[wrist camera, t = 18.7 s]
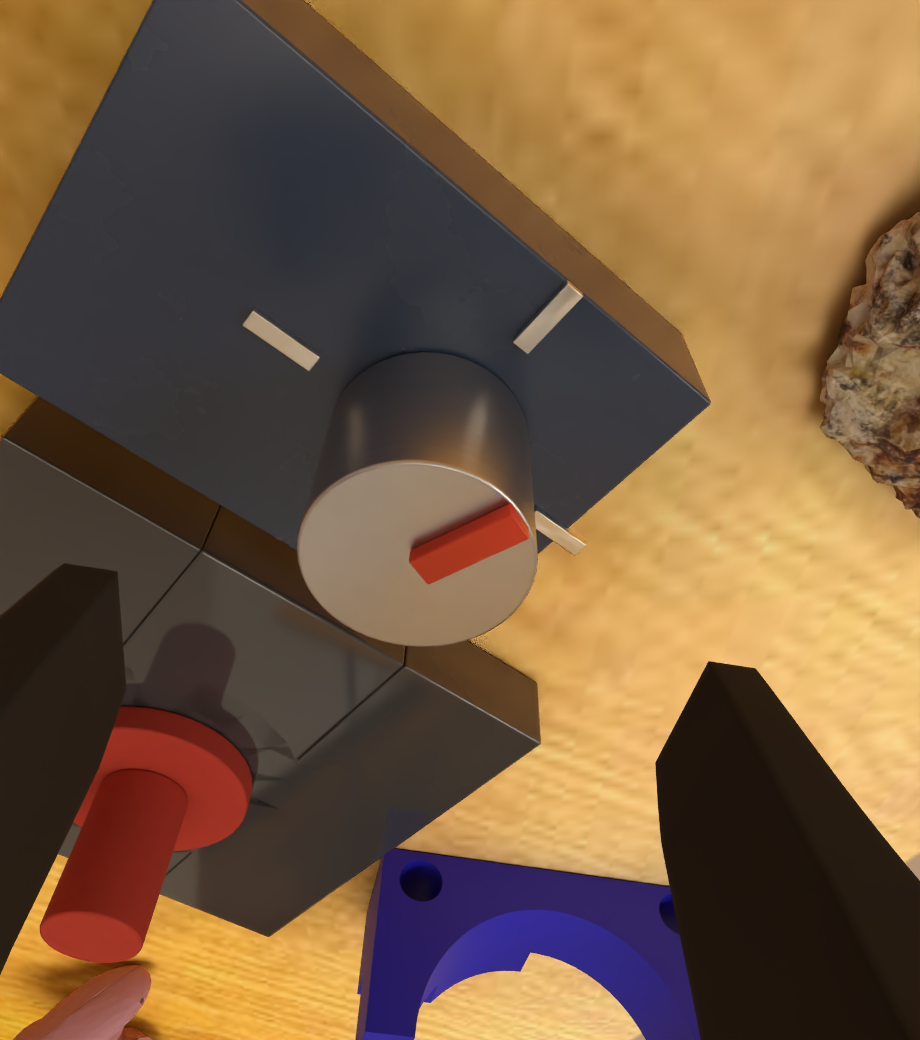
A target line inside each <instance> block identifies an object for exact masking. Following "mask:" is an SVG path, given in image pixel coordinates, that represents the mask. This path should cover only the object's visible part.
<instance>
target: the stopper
mask: <svg viewBox="0 0 920 1040" xmlns="http://www.w3.org/2000/svg"><path fill="white" fill-rule="evenodd" d="M252 786H253V785H252V776H251V772H250V769H249V766H248V764H247V762H246V760H245V759H244V757H243V756H242V755H241V753H240V752H239V751H238V750H237V749H236V747H235V746H234V745H233V744H232V743H230V742H229V741H228V740H227V739H226V738H225V737H223V736H222V735H220V734H219V733H217V732H216V731H214V730H213V729H211V728H209V727H207V726H206V725H204V724H202V723H200V722H198V721H195V720H193V719H191V718H188V717H185V716H182V715H179V714H176V713H173V712H169V711H165V710H160V709H154V708H148V707H137V706H120V709H119V712H118V715H117V718H116V721H115V724H114V727H113V730H112V733H111V736H110V739H109V741H108V744H107V747H106V750H105V753H104V756H103V758H102V761H101V764H100V767H99V769H98V771H97V773H96V775H95V778H94V780H93V782H92V784H91V786H90V788H89V790H88V792H87V794H86V797H85V799H84V801H83V803H82V805H81V807H80V809H79V811H78V813H77V815H76V817H75V819H74V823H75V824H77V825H78V826H80V827H81V830H80V833H79V835H78V837H77V840H76V842H75V845H74V847H73V849H72V852H71V854H70V856H69V859H68V861H67V863H66V866H65V868H64V870H63V873H62V875H61V877H60V880H59V882H58V884H57V887H56V889H55V891H54V894H53V896H52V898H51V901H50V903H49V905H48V908H47V910H46V912H45V915H44V917H43V919H42V922H41V924H40V934H41V937H42V938H43V940H44V941H45V942H46V943H47V944H48V945H49V946H51V947H52V948H53V949H55V950H57V951H59V952H60V953H63V954H65V955H67V956H70V957H73V958H76V959H80V960H84V961H90V962H99V963H113V962H120V961H125V960H128V959H130V958H132V957H134V956H135V955H137V954H138V953H139V951H140V950H141V949H142V946H143V943H144V940H145V937H146V934H147V931H148V928H149V925H150V921H151V918H152V915H153V912H154V909H155V906H156V903H157V900H158V897H159V894H160V890H161V887H162V884H163V881H164V878H165V875H166V872H167V869H168V866H169V863H170V859H171V856H172V853H173V851H181V850H191V849H197V848H201V847H205V846H209V845H211V844H214V843H217V842H219V841H221V840H222V839H224V838H226V837H227V836H229V835H230V834H232V833H233V832H234V831H235V830H236V829H237V828H238V827H239V826H240V824H241V823H242V821H243V820H244V817H245V815H246V812H247V809H248V805H249V801H250V797H251V793H252Z"/></svg>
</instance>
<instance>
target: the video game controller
mask: <svg viewBox="0 0 920 1040" xmlns="http://www.w3.org/2000/svg"><path fill="white" fill-rule="evenodd" d="M150 986H151V978H150V974H149V973H148V971H147V970H146V969H145V968H144V967H143V966H141V965H129V966H123V967H119V968H115V969H112V970H109V971H107V972H105V973H103V974H101V975H99V976H97V977H95V978H92V979H91V980H89V981H88V982H86V983H85V984H83V985H82V986H80V987H79V988H77V989H76V990H74V991H73V992H72V993H71V994H69V995H68V996H67V997H66V998H65V999H63V1000H62V1001H61V1002H60V1003H59V1004H57V1005H56V1006H55V1007H54V1008H53V1009H52V1010H51V1011H50V1012H49V1013H47V1014H46V1015H45V1016H44V1017H43V1018H42V1019H39V1020H37V1021H35V1022H33V1023H32V1024H30V1025H29V1026H27V1027H26V1028H24V1029H23V1030H22V1031H21V1032H20V1033H19V1034H18V1035H17V1036H16V1037H15V1038H14V1039H13V1040H153V1039H152V1038H150V1037H148V1036H147V1035H146V1034H144V1033H142V1032H141V1031H139V1030H138V1029H136V1028H134V1027H128V1028H125V1029H123V1028H124V1026H125V1025H126V1024H127V1023H128V1022H129V1021H130V1020H131V1019H132V1018H133V1017H134V1015H135V1014H136V1013H137V1011H138V1010H139V1009H140V1008H141V1006H142V1005H143V1003H144V1001H145V999H146V997H147V995H148V993H149V990H150Z"/></svg>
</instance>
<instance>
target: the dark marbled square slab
mask: <svg viewBox="0 0 920 1040" xmlns="http://www.w3.org/2000/svg"><path fill="white" fill-rule="evenodd" d="M64 563H66V564H73V565H80V566H86V567H93V568H99V569H106V570H112V571H118V584H119V597H120V611H121V624H122V637H123V650H124V664H125V677H126V691H125V694H124V697H123V700H122V703H121V706H137V707H148V708H154V709H160V710H165V711H169V712H173V713H176V714H179V715H182V716H185V717H188V718H191V719H193V720H195V721H198V722H200V723H202V724H204V725H206V726H207V727H209V728H211V729H213V730H214V731H216V732H217V733H219V734H220V735H222V736H223V737H225V738H226V739H227V740H228V741H229V742H230V743H232V744H233V745H234V746H235V747H236V749H237V750H238V751H239V752H240V753H241V755H242V756H243V757H244V759H245V760H246V762H247V764H248V766H249V769H250V772H251V776H252V785H253V786H252V793H251V797H250V801H249V805H248V809H247V812H246V815H245V817H244V820H243V821H242V823H241V824H240V826H239V827H238V828H237V829H236V830H235V831H234V832H233V833H232V834H230V835H229V836H227V837H226V838H224V839H222V840H221V841H219V842H217V843H214V844H211V845H209V846H205V847H201V848H197V849H191V850H181V851H173V853H172V856H171V859H170V863H169V866H168V869H167V872H166V875H165V878H164V881H163V884H162V887H161V890H160V894H161V895H163V896H166V897H168V898H171V899H173V900H176V901H178V902H181V903H184V904H186V905H189V906H191V907H194V908H196V909H199V910H201V911H204V912H206V913H209V914H211V915H214V916H216V917H219V918H221V919H224V920H227V921H229V922H232V923H234V924H237V925H239V926H242V927H244V928H247V929H249V930H252V931H254V932H257V933H259V934H262V935H264V936H267V937H270V936H271V935H273V934H274V933H275V932H277V931H278V930H280V929H281V928H283V927H284V926H285V925H287V924H288V923H290V922H291V921H292V920H294V919H295V918H297V917H298V916H299V915H301V914H302V913H304V912H305V911H306V910H308V909H309V908H311V907H312V906H313V905H315V904H316V903H318V902H319V901H321V900H322V899H323V898H325V897H326V896H328V895H329V894H330V893H332V892H333V891H335V890H336V889H337V888H339V887H340V886H342V885H343V884H344V883H346V882H347V881H349V880H350V879H351V878H353V877H354V876H356V875H357V874H359V873H360V872H361V871H363V870H364V869H366V868H367V867H368V866H370V865H371V864H373V863H374V862H375V861H377V860H378V859H380V858H381V857H382V856H384V855H385V854H387V853H388V852H390V851H391V850H392V849H394V848H395V847H397V846H398V845H399V844H401V843H402V842H404V841H405V840H406V839H408V838H409V837H411V836H412V835H413V834H415V833H416V832H418V831H419V830H420V829H422V828H423V827H425V826H426V825H428V824H429V823H430V822H432V821H433V820H435V819H436V818H437V817H439V816H440V815H442V814H443V813H444V812H446V811H447V810H449V809H450V808H451V807H453V806H454V805H456V804H457V803H458V802H460V801H461V800H463V799H464V798H466V797H467V796H468V795H470V794H471V793H473V792H474V791H475V790H477V789H478V788H480V787H481V786H482V785H484V784H485V783H487V782H488V781H489V780H491V779H492V778H494V777H495V776H496V775H498V774H499V773H501V772H502V771H504V770H505V769H506V768H508V767H509V766H511V765H512V764H513V763H515V762H516V761H518V760H519V759H520V758H522V757H523V756H525V755H526V754H527V753H529V752H530V751H532V750H533V749H534V748H536V747H537V746H539V745H540V744H541V736H540V720H539V703H538V687H537V683H536V682H534V681H532V680H531V679H529V678H528V677H526V676H524V675H523V674H521V673H519V672H518V671H516V670H514V669H513V668H511V667H509V666H508V665H506V664H504V663H503V662H501V661H499V660H498V659H496V658H494V657H493V656H491V655H489V654H488V653H486V652H484V651H483V650H481V649H480V648H478V647H476V646H475V645H473V644H471V643H470V642H468V641H462V642H458V643H454V644H449V645H442V646H430V647H416V646H404V645H397V644H392V643H388V642H383V641H380V640H377V639H374V638H371V637H368V636H365V635H363V634H361V633H359V632H356V631H354V630H353V629H351V628H349V627H347V626H346V625H344V624H342V623H341V622H340V621H338V620H337V619H336V618H334V617H333V616H332V615H330V614H329V613H328V612H327V611H326V610H325V609H324V608H323V607H322V606H321V605H320V604H319V602H318V601H317V600H316V599H315V598H314V596H313V595H312V593H311V592H310V590H309V589H308V587H307V585H306V583H305V581H304V578H303V576H302V574H301V570H300V567H299V563H298V556H297V550H295V549H293V548H291V547H290V546H288V545H286V544H285V543H283V542H281V541H280V540H278V539H276V538H275V537H273V536H271V535H270V534H268V533H266V532H265V531H263V530H261V529H260V528H258V527H256V526H255V525H253V524H251V523H250V522H248V521H246V520H245V519H243V518H241V517H240V516H238V515H236V514H235V513H233V512H231V511H230V510H228V509H226V508H225V507H223V506H221V505H220V504H218V503H216V502H215V501H213V500H211V499H210V498H208V497H206V496H204V495H203V494H201V493H199V492H198V491H196V490H194V489H193V488H191V487H189V486H188V485H186V484H184V483H183V482H181V481H179V480H178V479H176V478H174V477H173V476H171V475H169V474H168V473H166V472H164V471H163V470H161V469H159V468H158V467H156V466H154V465H153V464H151V463H149V462H148V461H146V460H144V459H143V458H141V457H139V456H138V455H136V454H134V453H133V452H131V451H129V450H128V449H126V448H124V447H123V446H121V445H119V444H118V443H116V442H114V441H112V440H111V439H109V438H107V437H106V436H104V435H102V434H101V433H99V432H97V431H96V430H94V429H92V428H91V427H89V426H87V425H86V424H84V423H82V422H81V421H79V420H77V419H76V418H74V417H72V416H71V415H69V414H67V413H66V412H64V411H62V410H61V409H59V408H57V407H56V406H54V405H52V404H51V403H49V402H47V401H46V400H44V399H42V398H41V397H39V396H37V397H36V398H35V399H34V400H33V401H32V403H31V404H30V405H29V406H28V407H27V408H26V409H25V411H24V412H23V413H22V414H21V415H20V416H19V418H18V419H17V420H16V421H15V422H14V423H13V424H12V426H11V427H10V428H9V429H8V430H7V431H6V432H5V434H4V435H3V436H2V437H1V439H0V615H1V614H3V613H4V612H5V611H6V610H7V609H9V608H10V607H11V606H12V605H13V604H14V603H16V602H17V601H18V600H19V599H20V598H22V597H23V596H24V595H25V594H26V593H27V592H29V591H30V590H31V589H32V588H33V587H34V586H36V585H37V584H38V583H39V582H40V581H42V580H43V579H44V578H45V577H46V576H47V575H49V574H50V573H51V572H52V571H53V570H55V569H56V568H58V567H59V566H61V565H62V564H64ZM80 830H81V827H80V826H78V825H77V824H75V823H74V822H73V824H72V826H71V828H70V830H69V832H68V834H67V836H66V838H65V840H64V842H63V844H62V846H61V848H60V850H59V852H58V854H59V855H62V856H64V857H67V858H69V856H70V854H71V852H72V849H73V847H74V845H75V842H76V840H77V837H78V835H79V833H80Z"/></svg>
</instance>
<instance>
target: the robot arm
mask: <svg viewBox="0 0 920 1040" xmlns="http://www.w3.org/2000/svg"><path fill="white" fill-rule="evenodd" d="M125 691H126V677H125V664H124V650H123V637H122V624H121V611H120V597H119V584H118V571H112V570H106V569H99V568H93V567H86V566H80V565H73V564H66V563H64V564H62V565H61V566H59V567H58V568H56V569H55V570H53V571H52V572H51V573H50V574H49V575H47V576H46V577H45V578H44V579H43V580H42V581H40V582H39V583H38V584H37V585H36V586H34V587H33V588H32V589H31V590H30V591H29V592H27V593H26V594H25V595H24V596H23V597H22V598H20V599H19V600H18V601H17V602H16V603H14V604H13V605H12V606H11V607H10V608H9V609H7V610H6V611H5V612H4V613H3V614H1V615H0V974H1V972H2V970H3V967H4V965H5V963H6V961H7V958H8V956H9V954H10V951H11V949H12V947H13V945H14V943H15V941H16V939H17V937H18V935H19V933H20V931H21V929H22V926H23V924H24V922H25V920H26V918H27V916H28V914H29V912H30V910H31V908H32V906H33V904H34V902H35V900H36V898H37V896H38V894H39V892H40V889H41V887H42V885H43V883H44V881H45V879H46V877H47V875H48V873H49V871H50V869H51V867H52V865H53V863H54V861H55V859H56V857H57V855H58V852H59V850H60V848H61V846H62V844H63V842H64V840H65V838H66V836H67V834H68V832H69V830H70V828H71V826H72V824H73V822H74V819H75V817H76V815H77V813H78V811H79V809H80V807H81V805H82V803H83V801H84V799H85V797H86V794H87V792H88V790H89V788H90V786H91V784H92V782H93V780H94V778H95V775H96V773H97V771H98V769H99V767H100V764H101V761H102V758H103V756H104V753H105V750H106V747H107V744H108V741H109V739H110V736H111V733H112V730H113V727H114V724H115V721H116V718H117V715H118V712H119V709H120V706H121V703H122V700H123V697H124V694H125ZM656 779H657V796H658V810H659V822H660V833H661V843H662V848H663V853H664V859H665V864H666V869H667V874H668V879H669V884H670V890H671V895H672V900H673V905H674V910H675V915H676V920H677V924H678V929H679V934H680V939H681V944H682V949H683V954H684V959H685V964H686V969H687V973H688V978H689V983H690V988H691V993H692V998H693V1003H694V1008H695V1013H696V1018H697V1022H698V1028H699V1034H700V1040H920V881H919V879H918V878H917V877H916V876H915V875H914V874H913V872H912V871H911V870H910V869H909V868H908V867H907V865H906V864H905V863H904V862H903V860H902V859H901V858H900V857H899V856H898V854H897V853H896V852H895V851H894V849H893V848H892V847H891V846H890V844H889V843H888V842H887V841H886V840H885V838H884V837H883V836H882V835H881V833H880V832H879V831H878V830H877V828H876V827H875V826H874V824H873V823H872V822H871V821H870V819H869V818H868V817H867V816H866V814H865V813H864V812H863V810H862V809H861V808H860V807H859V805H858V804H857V803H856V801H855V800H854V799H853V798H852V796H851V795H850V794H849V792H848V791H847V790H846V788H845V787H844V786H843V785H842V783H841V782H840V781H839V779H838V778H837V777H836V775H835V774H834V773H833V771H832V770H831V769H830V767H829V766H828V765H827V763H826V762H825V761H824V759H823V758H822V757H821V755H820V754H819V753H818V751H817V750H816V749H815V747H814V746H813V744H812V743H811V742H810V740H809V739H808V738H807V736H806V735H805V734H804V732H803V731H802V730H801V728H800V727H799V726H798V724H797V723H796V722H795V720H794V719H793V717H792V716H791V715H790V713H789V712H788V711H787V709H786V708H785V707H784V705H783V704H782V703H781V701H780V700H779V699H778V697H777V696H776V695H775V693H774V692H773V691H772V689H771V688H770V687H769V685H768V684H767V683H766V681H765V680H764V679H763V677H762V676H761V675H760V674H759V672H758V671H757V670H756V669H755V668H749V667H743V666H736V665H730V664H723V663H716V662H710V661H709V662H708V663H707V665H706V667H705V669H704V671H703V673H702V675H701V677H700V679H699V681H698V683H697V684H696V686H695V688H694V690H693V692H692V694H691V696H690V698H689V700H688V702H687V704H686V705H685V707H684V709H683V711H682V713H681V715H680V717H679V719H678V721H677V723H676V724H675V726H674V728H673V730H672V732H671V734H670V736H669V738H668V740H667V742H666V744H665V745H664V747H663V749H662V751H661V753H660V755H659V757H658V759H657V761H656Z"/></svg>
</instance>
